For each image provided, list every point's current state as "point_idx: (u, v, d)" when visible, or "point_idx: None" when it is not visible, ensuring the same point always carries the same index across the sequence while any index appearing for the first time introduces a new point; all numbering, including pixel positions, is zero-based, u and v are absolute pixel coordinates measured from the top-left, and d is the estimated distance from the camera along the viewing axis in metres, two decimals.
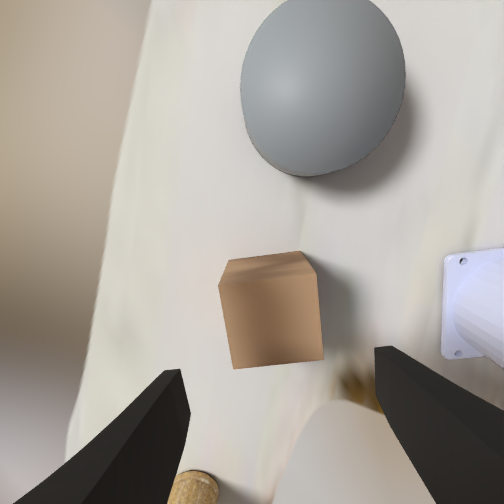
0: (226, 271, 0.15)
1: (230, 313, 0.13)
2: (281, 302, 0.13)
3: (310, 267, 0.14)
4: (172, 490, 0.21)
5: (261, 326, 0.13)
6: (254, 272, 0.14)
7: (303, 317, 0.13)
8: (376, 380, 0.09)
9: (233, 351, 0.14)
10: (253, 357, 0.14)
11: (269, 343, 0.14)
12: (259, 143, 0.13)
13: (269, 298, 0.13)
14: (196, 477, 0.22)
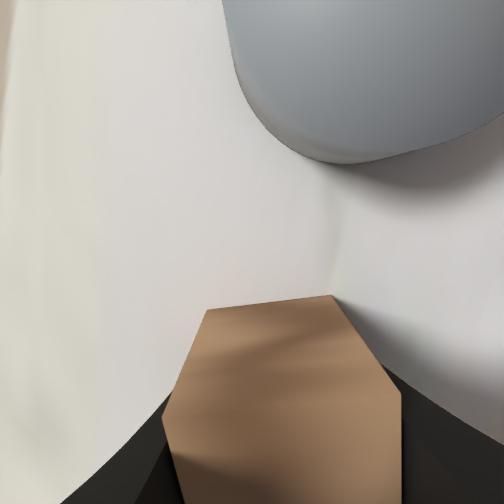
0: (194, 349, 0.08)
1: (192, 473, 0.06)
2: (311, 453, 0.06)
3: (374, 361, 0.06)
4: None
5: (266, 500, 0.06)
6: (249, 365, 0.07)
7: (363, 484, 0.06)
8: None
9: None
10: None
11: None
12: (261, 80, 0.06)
13: (283, 445, 0.05)
14: None
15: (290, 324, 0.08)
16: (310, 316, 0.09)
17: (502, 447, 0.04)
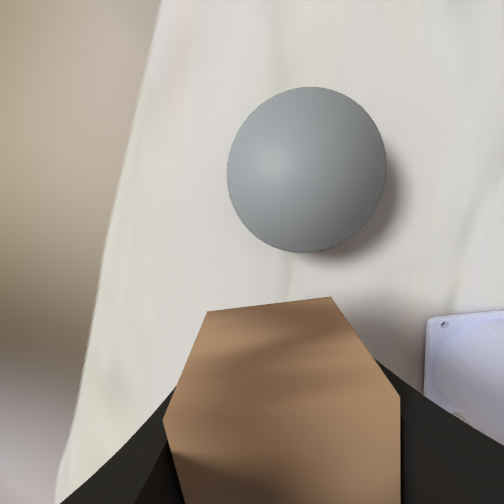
0: (194, 352, 0.08)
1: (192, 474, 0.06)
2: (311, 455, 0.06)
3: (373, 363, 0.06)
4: None
5: (266, 502, 0.06)
6: (249, 367, 0.07)
7: (363, 486, 0.06)
8: None
9: None
10: None
11: None
12: (245, 224, 0.13)
13: (283, 448, 0.06)
14: None
15: (290, 326, 0.08)
16: (310, 318, 0.09)
17: (502, 447, 0.04)
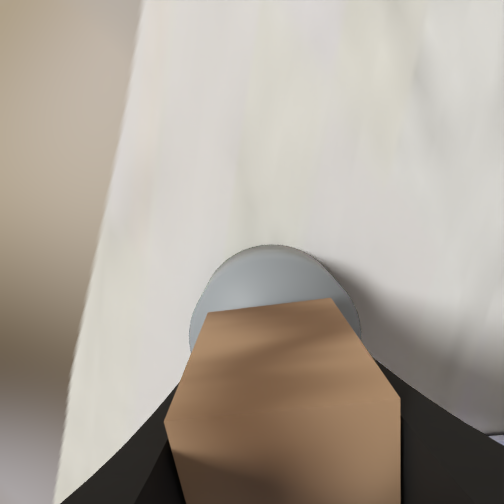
0: (195, 353, 0.08)
1: (194, 475, 0.06)
2: (312, 456, 0.06)
3: (374, 365, 0.06)
4: None
5: (267, 502, 0.06)
6: (250, 369, 0.07)
7: (363, 487, 0.06)
8: None
9: None
10: None
11: None
12: None
13: (284, 449, 0.06)
14: None
15: (290, 327, 0.08)
16: (310, 319, 0.09)
17: (502, 447, 0.04)
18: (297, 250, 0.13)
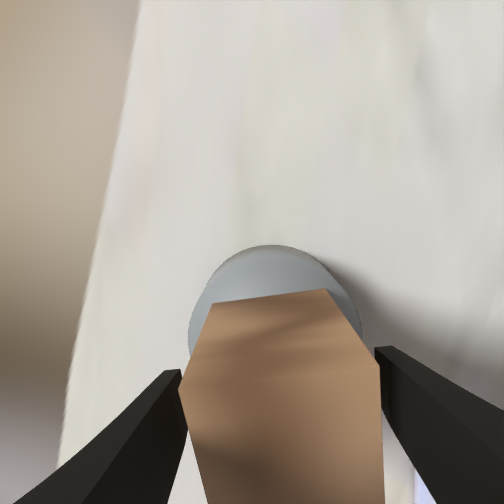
0: (202, 336, 0.09)
1: (204, 437, 0.07)
2: (305, 419, 0.06)
3: (359, 341, 0.07)
4: None
5: (267, 461, 0.07)
6: (251, 347, 0.08)
7: (350, 445, 0.07)
8: None
9: (213, 501, 0.07)
10: None
11: (282, 489, 0.07)
12: None
13: (281, 412, 0.06)
14: None
15: (287, 313, 0.09)
16: (305, 306, 0.10)
17: None
18: (297, 250, 0.13)
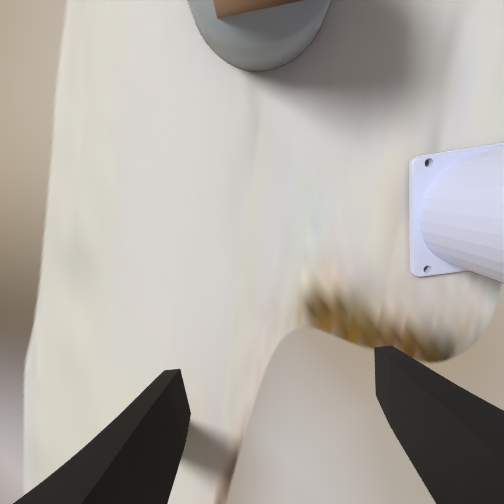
0: None
1: None
2: None
3: None
4: None
5: None
6: None
7: None
8: (376, 380, 0.09)
9: None
10: None
11: None
12: (195, 7, 0.12)
13: None
14: None
15: None
16: None
17: None
18: None
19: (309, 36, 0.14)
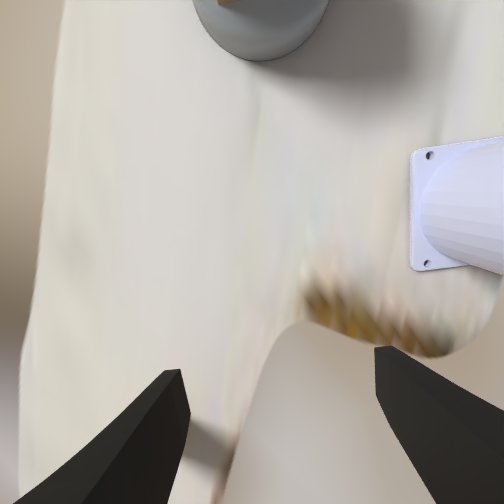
0: None
1: None
2: None
3: None
4: None
5: None
6: None
7: None
8: (376, 380, 0.09)
9: None
10: None
11: None
12: None
13: None
14: None
15: None
16: None
17: None
18: None
19: (311, 25, 0.13)
